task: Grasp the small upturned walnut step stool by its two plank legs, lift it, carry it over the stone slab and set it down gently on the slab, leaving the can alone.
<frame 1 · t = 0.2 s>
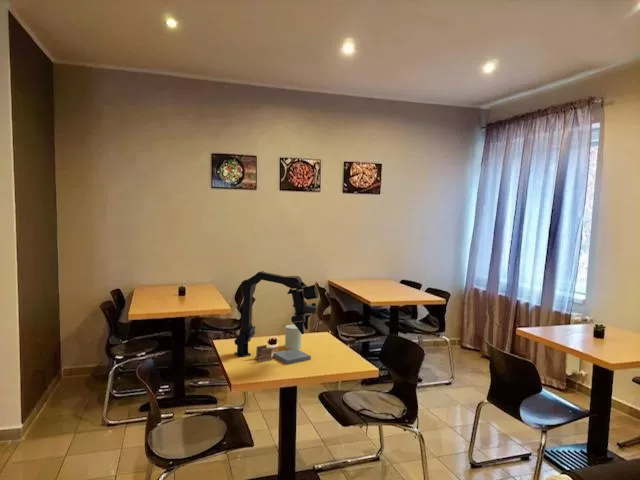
hand: (304, 331, 227), 15 cm above the table, tool pointing down, fingers open, 9 cm apart
can: (293, 347, 253), on the table
slab: (291, 358, 233), on the table
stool: (263, 359, 231), on the table
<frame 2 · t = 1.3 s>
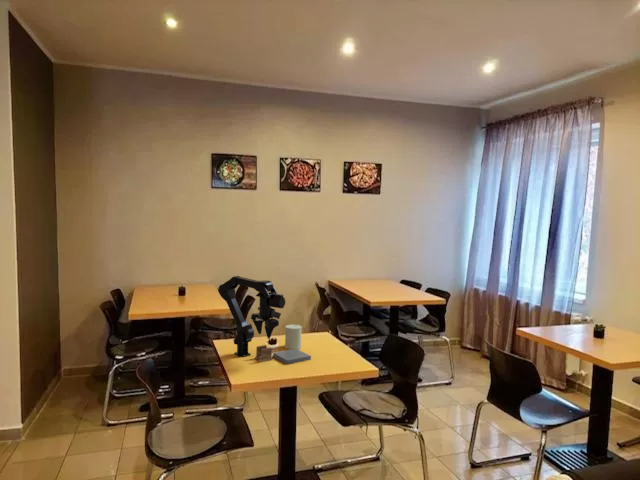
hand: (264, 336, 230), 12 cm above the table, tool pointing down, fingers open, 9 cm apart
nothing on the table moved.
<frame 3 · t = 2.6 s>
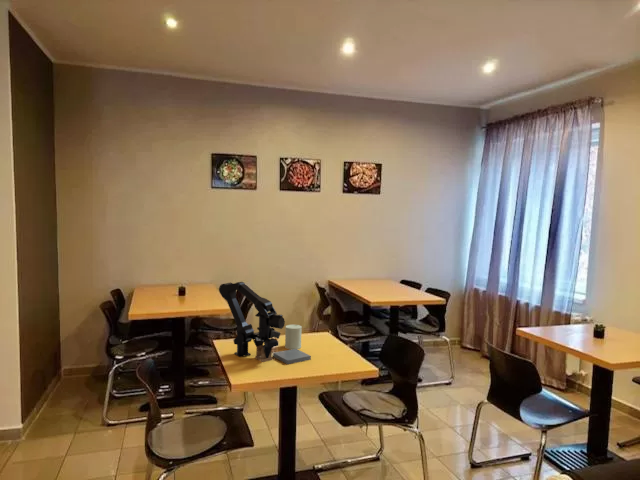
hand: (263, 356, 231), 2 cm above the table, tool pointing down, fingers closed on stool, 6 cm apart
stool: (263, 359, 231), on the table, touching gripper
everything else where it was.
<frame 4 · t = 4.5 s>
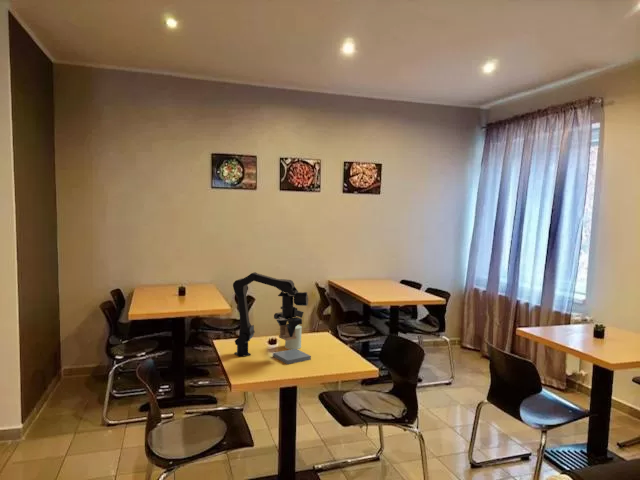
hand: (287, 335, 232), 12 cm above the table, tool pointing down, fingers closed on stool, 6 cm apart
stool: (287, 338, 232), point 11 cm above the table, touching gripper
everything else where it was.
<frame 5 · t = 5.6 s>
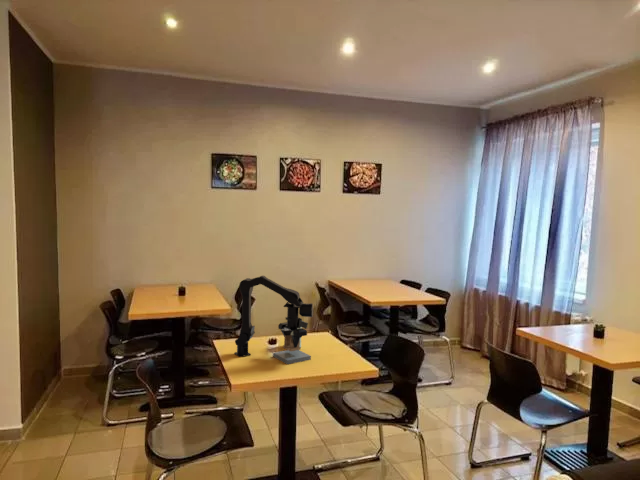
hand: (291, 345, 233), 6 cm above the table, tool pointing down, fingers closed on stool, 6 cm apart
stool: (291, 348, 233), point 5 cm above the table, touching gripper
everything else where it was.
when the fingers open (5 cm above the table, at t = 6.4 s): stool drops 2 cm, resting on slab.
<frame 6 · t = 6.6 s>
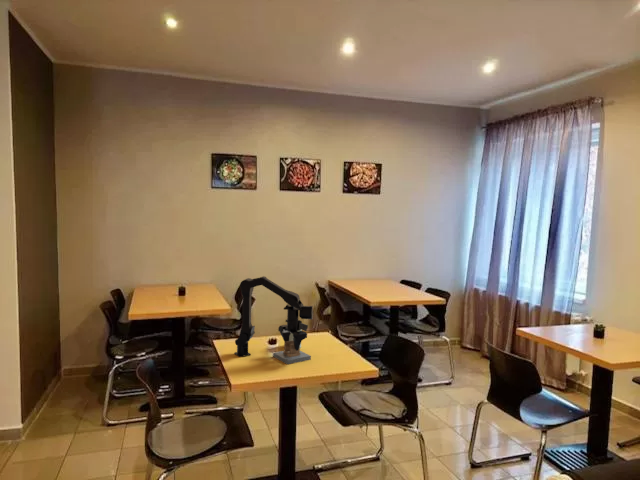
hand: (292, 348, 233), 5 cm above the table, tool pointing down, fingers open, 9 cm apart
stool: (291, 354, 233), point 2 cm above the table, touching slab
everything else where it was.
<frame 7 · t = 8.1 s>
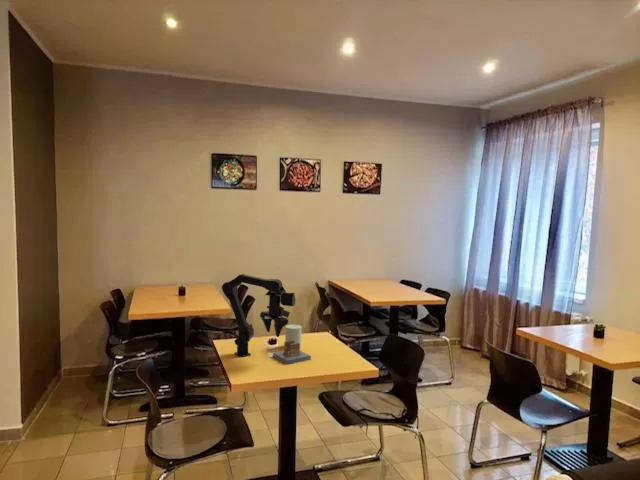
hand: (273, 334, 232), 12 cm above the table, tool pointing down, fingers open, 9 cm apart
nothing on the table moved.
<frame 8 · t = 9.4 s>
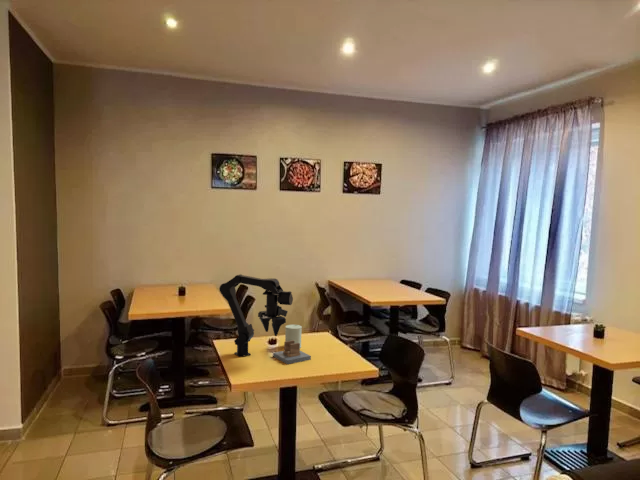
hand: (271, 333, 232), 13 cm above the table, tool pointing down, fingers open, 9 cm apart
nothing on the table moved.
at the end: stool inside the target area on the slab (0.1 cm from its centre), point 2.0 cm above the slab's base; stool tilted 0°; the gripper is holding nothing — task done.
